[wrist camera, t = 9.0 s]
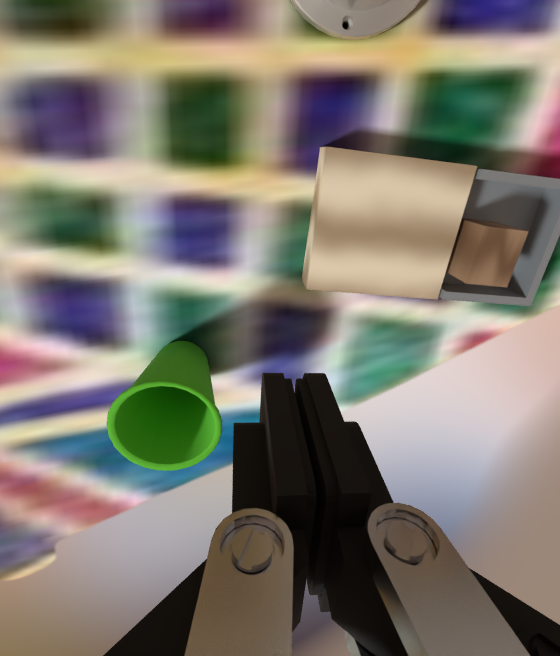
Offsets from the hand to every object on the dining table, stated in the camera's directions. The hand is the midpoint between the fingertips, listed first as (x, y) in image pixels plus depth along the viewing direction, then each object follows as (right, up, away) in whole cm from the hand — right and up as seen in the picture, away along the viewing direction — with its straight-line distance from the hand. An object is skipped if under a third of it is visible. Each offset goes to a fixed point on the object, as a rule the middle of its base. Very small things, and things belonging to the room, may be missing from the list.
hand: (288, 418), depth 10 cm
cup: (-11, -1, +30) cm, 32 cm away
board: (+9, +12, +26) cm, 30 cm away
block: (+16, +10, +24) cm, 31 cm away
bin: (+20, +12, +27) cm, 36 cm away
